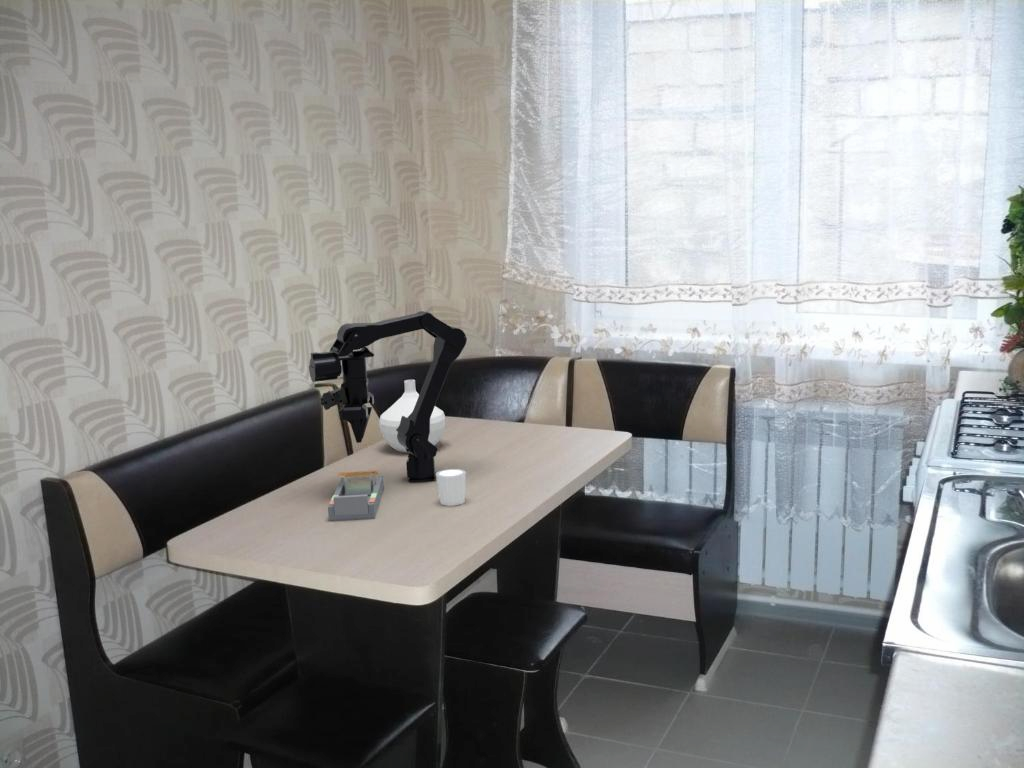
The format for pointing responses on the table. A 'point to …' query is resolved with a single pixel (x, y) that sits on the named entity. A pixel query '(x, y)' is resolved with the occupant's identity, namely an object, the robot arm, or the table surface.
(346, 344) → the robot arm
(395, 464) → the table surface
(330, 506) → the track
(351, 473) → the gauge sled
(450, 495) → the shot glass
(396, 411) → the vase
